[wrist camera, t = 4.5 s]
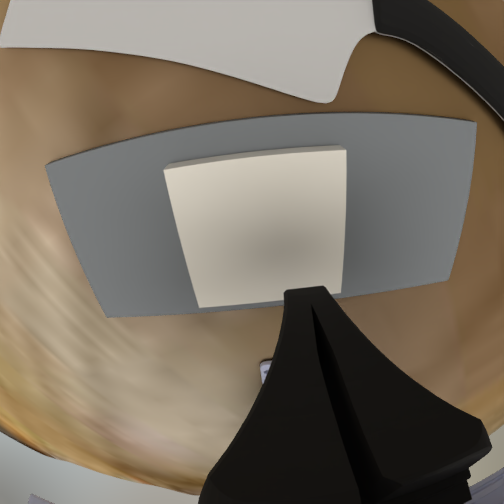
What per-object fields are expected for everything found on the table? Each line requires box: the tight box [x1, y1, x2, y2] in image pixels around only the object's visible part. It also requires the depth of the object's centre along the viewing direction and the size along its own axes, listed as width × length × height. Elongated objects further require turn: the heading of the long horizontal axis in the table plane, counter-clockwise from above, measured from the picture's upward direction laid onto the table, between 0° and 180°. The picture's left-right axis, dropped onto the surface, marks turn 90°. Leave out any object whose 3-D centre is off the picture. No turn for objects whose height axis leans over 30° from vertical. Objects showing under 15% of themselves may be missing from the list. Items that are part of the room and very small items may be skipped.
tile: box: [163, 145, 347, 308], centre depth 15 cm, size 8×1×8 cm
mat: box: [45, 112, 477, 318], centre depth 16 cm, size 11×24×1 cm, turn 96°
